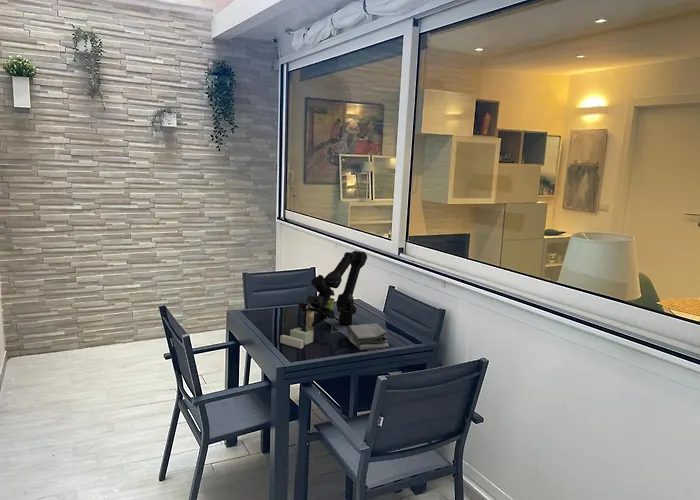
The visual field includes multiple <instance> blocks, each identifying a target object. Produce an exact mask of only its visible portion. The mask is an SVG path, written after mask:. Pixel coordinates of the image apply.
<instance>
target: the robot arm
mask: <svg viewBox="0 0 700 500" xmlns="http://www.w3.org/2000/svg"><path fill="white" fill-rule="evenodd" d="M367 260H368V255H367V253H366V252H365V251H360V250H353V251H351V252H349V251H347V252H344V255H343V257H342V258H341V259H340V261H339V263H338V264H336V265H337V266H336V267H335V268H334V269H333V270H332V271H330V272H329V273H327V275H326V276H325V277H324V275H322V274H318V276H315V277H314V278H313V279H312V280H311V283H310V284H311V286H312V287H313V288H314V290H315V291H316V292H317V293H318V294H317V295H315V296H314V295H310V294H307V297H306V301H305V302H302V301H300V302H299V303H298V305H297V307H298V308H299V309H300V311H301V312H303V314H304V315H303V322H302V323H303V325H304V326H306V311H314V313H316V316H315V317H314V322H313V324H312V327H316V326H317V325H319V324H320V323H321V322H323V321H325V320H327V319H331V320H333V319H334V318H335V316H336V314H335V311H333V309H331V308H327V307H325V306H326V305H327V306H328V300H329V299H330V298H332V297H335V291H334V290H333V289H338V288H339V287H340V285H341V283H342V282H343V281H342V277H343V275H344V274H345V272H346V271H348V270H347V269H348V268H349V267H350V270H349V271H348V275H347V279H346V283H345V286H344V289H343V292H342V293H341V294H338V296H337V300H335V301H336V302H335V303H336V310H337V312H338V313H340V314H339V315H338V322H339V325H340V326H352V325H353V324H354V315H355V314H356V313H357V307H356V305H354V303H355V299H354V292H355V288H356V286H357V285H356V284H357V281H358V278H359V274H360V271H361V268H363V267H364V266H365V265H366V262H367ZM331 296H332V297H331Z"/></svg>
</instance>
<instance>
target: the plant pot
mask: <svg viewBox="0 0 700 500" xmlns="http://www.w3.org/2000/svg"><path fill="white" fill-rule="evenodd" d="M335 301H336V299H335V298H333V297H330V299H329V300H328V306H327V305H326V306H325V307H327V308H331V309H332V310H333V309H334V308H333V307H334V303H335Z"/></svg>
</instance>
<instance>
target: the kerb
mask: <svg viewBox="0 0 700 500" xmlns="http://www.w3.org/2000/svg"><path fill="white" fill-rule="evenodd" d="M279 340H280V344H282V343H283V345H287V346H290V347H293V348H297V349H299V350H300V349H303V348H304V346H305V345H304V340H301V339H298V338H294V337H290V335H286V334H281V335H280V339H279Z"/></svg>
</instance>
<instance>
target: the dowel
mask: <svg viewBox="0 0 700 500" xmlns="http://www.w3.org/2000/svg"><path fill="white" fill-rule="evenodd" d="M314 320H315V312H314V311H306V324H305V332H307V331H313V339H314V337H315V336H314V335H315V334H314V333H315V328H314V327H315V326H314V327H312V324H313V322H314Z"/></svg>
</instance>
